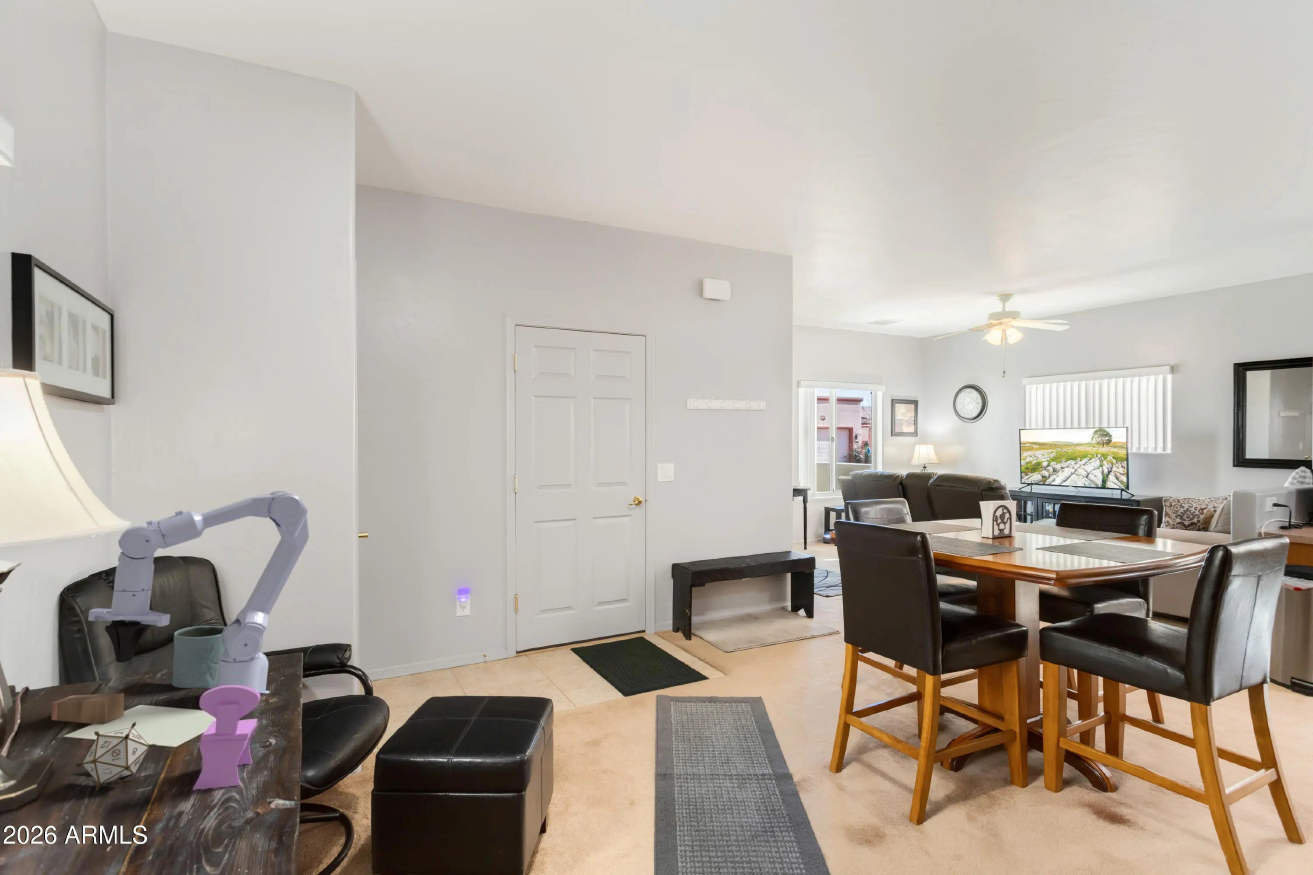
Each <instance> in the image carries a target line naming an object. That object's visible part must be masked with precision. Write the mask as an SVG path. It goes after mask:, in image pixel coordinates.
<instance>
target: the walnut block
mask: <svg viewBox="0 0 1313 875" xmlns="http://www.w3.org/2000/svg"><path fill="white" fill-rule="evenodd" d="M124 711H125V693H123V692H122V693H104V694H102V693H101V694H81V695H80V694H79V695H78V694H77V695H70V696H67V697H65V698H62V699H58V700H55V701H52V702H51V720H52V721H59V722H70V723H71V722H72V723H79V724H80V723H84V724H90V725H92V724H95V723H106V722H109V721H111V720H114V719H116V718H118V717H121V716H123V715H124Z"/></svg>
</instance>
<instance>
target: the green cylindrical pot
mask: <svg viewBox="0 0 1313 875" xmlns="http://www.w3.org/2000/svg"><path fill="white" fill-rule="evenodd" d="M226 627H227V626H220V625H200V626H199V625H198V626H191V627H190V626H189V627H185V628H181V629H178V630H177V631H175V632H174V634H173V652H174V655H173V660H172V662H173V666H172V670H173V671H172V683H171V684H172V686H174V687H175V688H180V689H195V688H200V689H201V688H203V689H213V688H216V684H217V676H218V667H219V659H220V655H221V654H222V653H223V652H224V650H225V649H226V647H225V646H224V645H223V644H222V641H221V635H222V632H223V630H224V629H225V628H226Z"/></svg>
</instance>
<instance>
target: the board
mask: <svg viewBox="0 0 1313 875" xmlns="http://www.w3.org/2000/svg"><path fill="white" fill-rule="evenodd" d="M213 721H216V718H215V717H213V716H211V715H210V714H208V713H207V712H205V711H204V710H202V709H201V710H200V709H191V708H189V709H188V708H178V707H167V706H157V705H156V706H155V705H146V704H145V705H143V704H139V705H136V706H134V707H131V708H128V709H127V710H124V715H123V716H121V717H118V718H116V719H114V720H111V721H109V722H106V723H95V724H90V725H88V726H86V727H83V728H81V729H78V730H76V731H72V732H70V733H67V734H66V735H63V736H62V737H63V738H65V737H66V738H74V739H85V740H86V739H87V740H94V741H95V740H96V738H97V736H95V735H94V734H95V731H97V732H98V731H99V734H105V733H109V732H113V731H117V730H121V729H126V728H130V727H131V726H132V723H134V722H136V725H135V727H134V729H135V730H136V731H137V732H138V733H139V734H140V735H141V737H142V738H143V739H144V740H145V741H146V742H147V743H148V744H149V745H151V744H157V745H156V746H162V747H163V746H164V747H171V748H172V747H174V748H177V747H178V746H180V745H182V744H185V743H186V742H187V741H189V740H192V739H194V738H195V737H198V736H199V735H200V736H201V735H202V734H203V733H204V732H205V731H206V730H207V729H208V727H209V726H210V725H211V723H212V722H213Z"/></svg>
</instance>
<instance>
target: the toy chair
mask: <svg viewBox="0 0 1313 875" xmlns="http://www.w3.org/2000/svg"><path fill="white" fill-rule="evenodd" d="M260 700H261V693H259V692H258V691H256V690H255V689H252V688H249V687H246V686H240V685H226V686H219V687H216V688H213V689H212V688H209V689H208V690H206V691H205V692H204V693H202V695H201V696H200V697H199V703H198V704H199V707H200V709H201V710H203V711H205V712H207V713H208V714H210V715H211V716H213V717H215V718H216V721H213V722H212V723H211V725H210V726H209V727H208V729H207V730H206V731H205V732H203V733H201V735H200V743H199V750H200V754H201V757H202V758H201V760H202V767H201V771H200V774H199V777H197V778H198V779H197V780H196V781H195V784H194V785H193V788H192V791H197V790H196V789H201V790H209V789H208V788H213V789H216V788H215V787H226V788H229V787H228V786H234V785H240V786H241V781H240V777H239V772H238V771H239V770H238V766H247V765H246V764H251V765H253V760H252V756H251V750H250V745H251V744H250V743H251V739H252V737H253V735H254V733H255V732H256V730H257V728H258V725H257V724H258V718H254V719H253V718H251V719H250V718H248V719H241V718H242V717H244V716H245V715H247V714H250V712H252V711H253V710H254V709H256V708H257V706H258V705H259V703H260ZM240 719H241V720H240ZM243 764H245V765H243ZM237 765H238V766H237ZM206 788H207V789H206Z"/></svg>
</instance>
